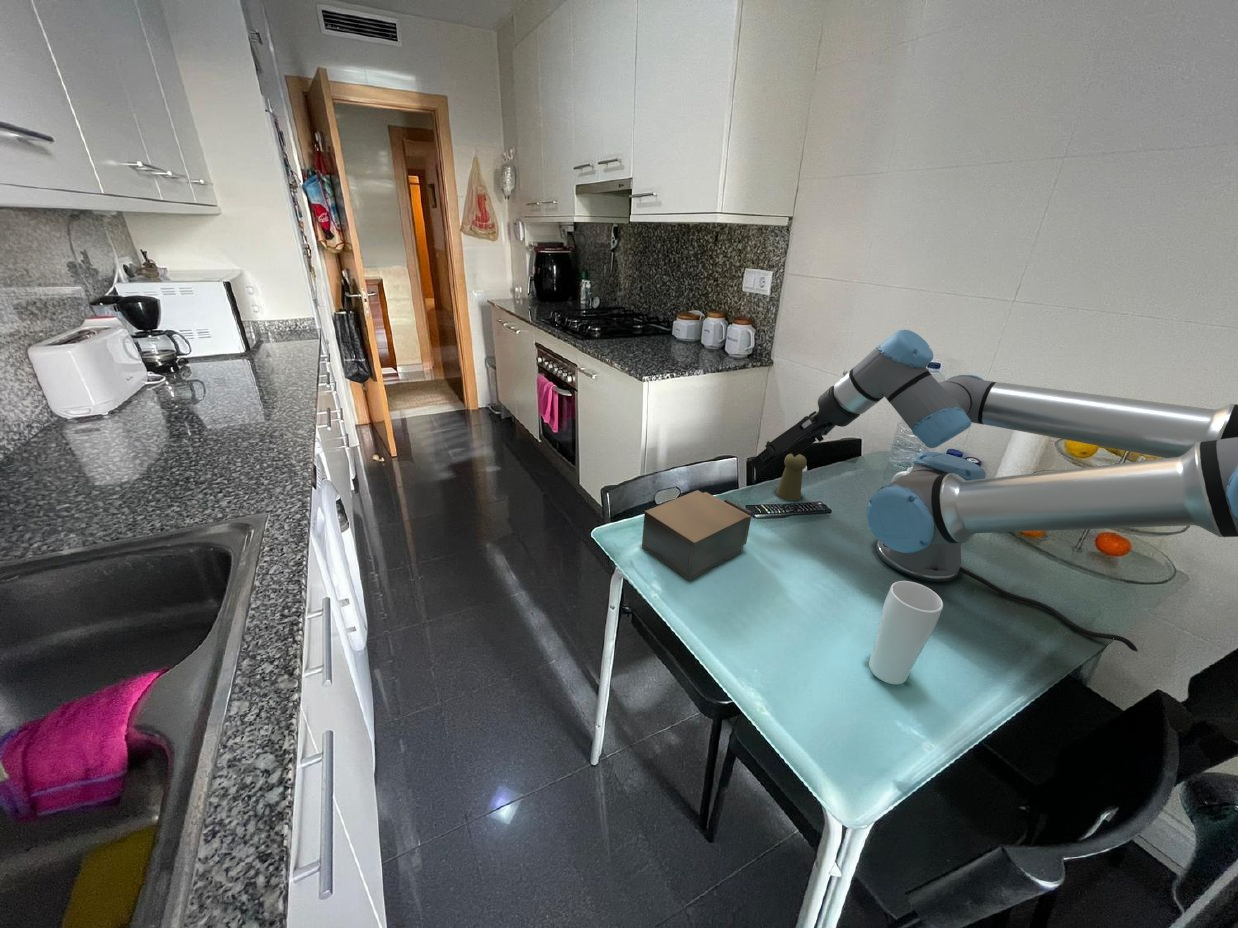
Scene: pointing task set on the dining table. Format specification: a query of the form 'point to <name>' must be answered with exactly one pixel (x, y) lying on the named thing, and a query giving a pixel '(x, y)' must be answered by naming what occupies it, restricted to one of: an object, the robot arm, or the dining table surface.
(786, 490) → the olive pawn figure
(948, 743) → the dining table surface
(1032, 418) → the robot arm
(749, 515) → the drawer
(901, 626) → the drinking glass
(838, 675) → the dining table surface
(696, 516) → the cabinet
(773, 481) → the dining table surface
